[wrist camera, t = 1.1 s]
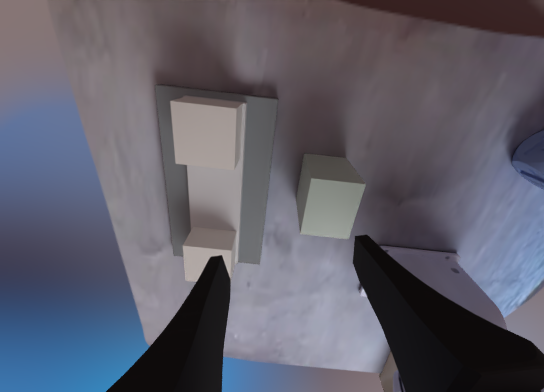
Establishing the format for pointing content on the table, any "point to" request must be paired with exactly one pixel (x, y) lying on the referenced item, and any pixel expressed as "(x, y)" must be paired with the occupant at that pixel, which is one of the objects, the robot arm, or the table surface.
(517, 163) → the decorative dice
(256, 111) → the rail board
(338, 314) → the table surface
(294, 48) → the table surface
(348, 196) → the block
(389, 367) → the electrical outlet
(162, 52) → the table surface
